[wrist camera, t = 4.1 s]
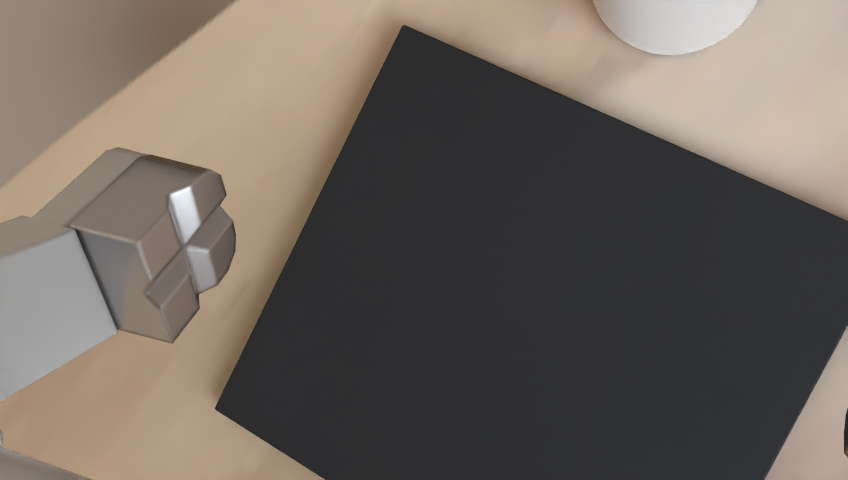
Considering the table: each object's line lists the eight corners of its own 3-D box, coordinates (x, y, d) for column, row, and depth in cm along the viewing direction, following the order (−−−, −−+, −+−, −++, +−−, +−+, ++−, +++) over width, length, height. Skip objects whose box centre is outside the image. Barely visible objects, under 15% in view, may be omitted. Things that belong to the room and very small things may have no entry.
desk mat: (886, 242, 28) (893, 240, 28) (651, 678, 29) (652, 689, 29) (407, 29, 34) (402, 23, 33) (222, 406, 35) (213, 409, 34)
